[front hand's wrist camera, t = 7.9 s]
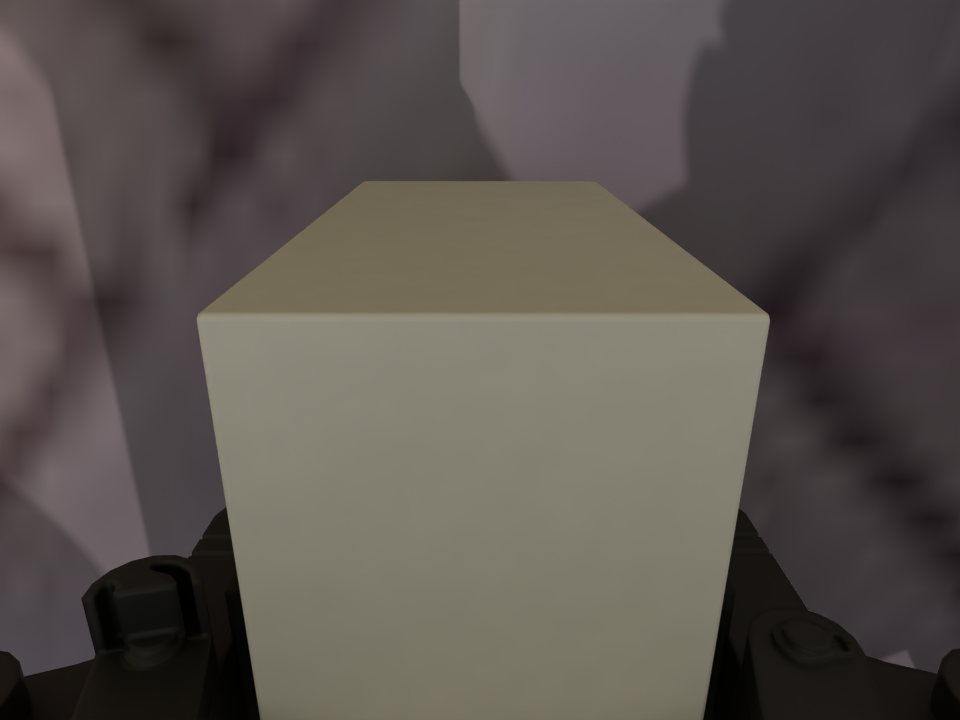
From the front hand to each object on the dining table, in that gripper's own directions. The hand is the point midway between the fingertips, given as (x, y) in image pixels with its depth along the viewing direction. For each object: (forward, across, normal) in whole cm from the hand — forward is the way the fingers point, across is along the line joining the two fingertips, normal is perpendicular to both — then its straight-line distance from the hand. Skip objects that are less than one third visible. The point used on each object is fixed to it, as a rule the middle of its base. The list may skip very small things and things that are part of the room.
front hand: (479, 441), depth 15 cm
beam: (+1, 0, -20) cm, 20 cm away
